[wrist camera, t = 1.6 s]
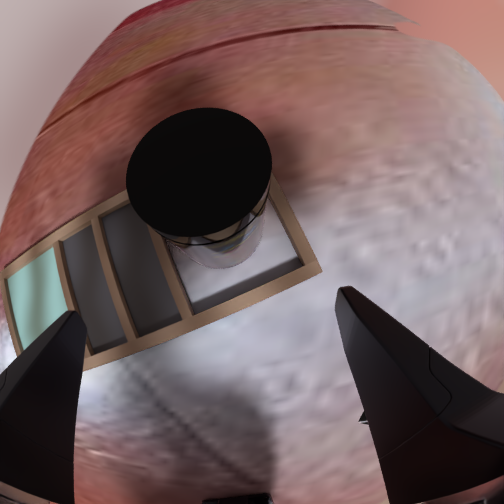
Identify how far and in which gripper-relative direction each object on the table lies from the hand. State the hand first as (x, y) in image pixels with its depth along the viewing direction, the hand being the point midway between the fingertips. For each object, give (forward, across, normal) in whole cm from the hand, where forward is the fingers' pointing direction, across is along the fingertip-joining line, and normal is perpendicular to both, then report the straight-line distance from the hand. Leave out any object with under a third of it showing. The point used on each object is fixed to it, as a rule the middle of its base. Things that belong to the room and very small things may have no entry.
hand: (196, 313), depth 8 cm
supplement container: (+13, 0, +4) cm, 14 cm away
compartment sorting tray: (+11, +10, +6) cm, 16 cm away
